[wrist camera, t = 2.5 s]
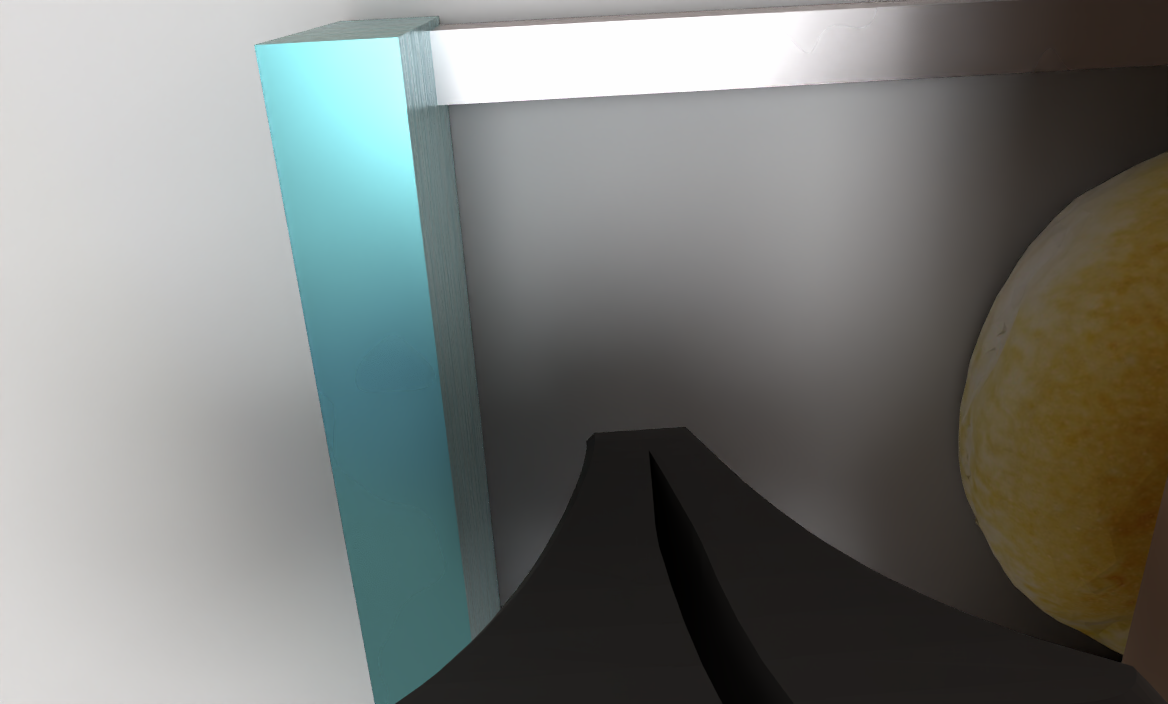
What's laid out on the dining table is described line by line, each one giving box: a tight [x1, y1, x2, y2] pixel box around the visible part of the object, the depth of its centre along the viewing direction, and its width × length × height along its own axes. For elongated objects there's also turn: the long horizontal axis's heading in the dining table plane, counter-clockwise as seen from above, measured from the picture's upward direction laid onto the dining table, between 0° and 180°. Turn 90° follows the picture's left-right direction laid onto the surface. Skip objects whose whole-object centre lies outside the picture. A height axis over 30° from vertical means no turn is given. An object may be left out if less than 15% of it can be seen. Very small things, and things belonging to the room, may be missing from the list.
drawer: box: [254, 0, 1168, 704], centre depth 12 cm, size 12×19×4 cm, turn 93°
